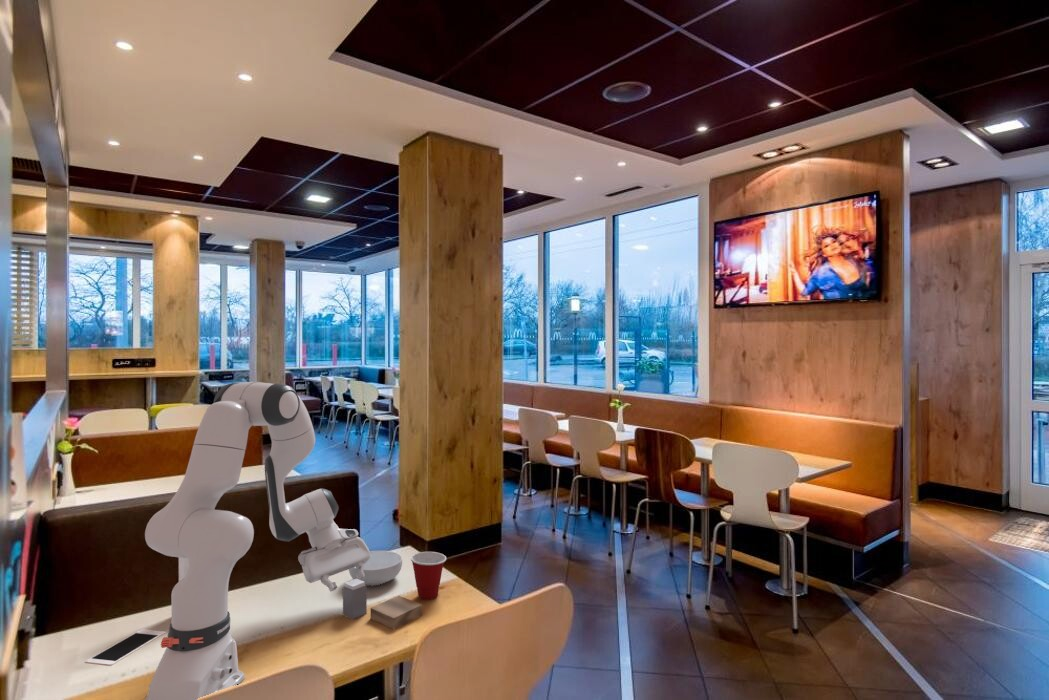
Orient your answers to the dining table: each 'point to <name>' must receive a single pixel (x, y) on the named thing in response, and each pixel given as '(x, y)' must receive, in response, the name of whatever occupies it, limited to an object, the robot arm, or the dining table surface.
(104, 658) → the cell phone
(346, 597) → the salt shaker
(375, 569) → the cereal bowl
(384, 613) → the base block
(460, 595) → the dining table surface
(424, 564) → the plastic cup
